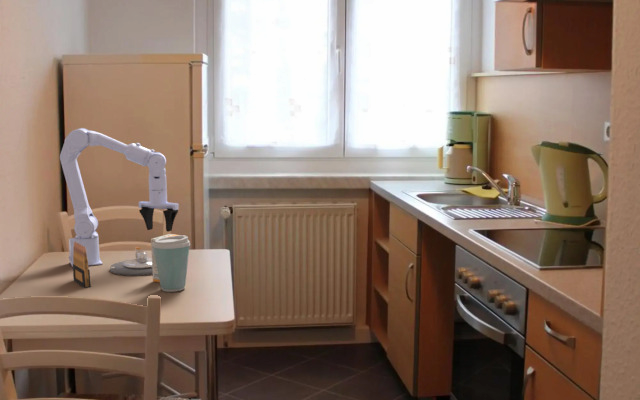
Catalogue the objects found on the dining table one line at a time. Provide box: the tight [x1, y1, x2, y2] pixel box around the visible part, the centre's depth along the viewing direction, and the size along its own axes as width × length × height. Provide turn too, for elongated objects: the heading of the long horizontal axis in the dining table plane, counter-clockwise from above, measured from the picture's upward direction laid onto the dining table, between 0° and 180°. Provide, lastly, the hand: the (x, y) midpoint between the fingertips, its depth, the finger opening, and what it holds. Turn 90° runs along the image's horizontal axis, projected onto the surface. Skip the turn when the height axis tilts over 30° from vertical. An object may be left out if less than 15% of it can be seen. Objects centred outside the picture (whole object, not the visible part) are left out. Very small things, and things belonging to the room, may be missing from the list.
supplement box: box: [150, 233, 179, 283], centre depth 229 cm, size 8×5×13 cm, turn 149°
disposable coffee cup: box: [152, 234, 191, 293], centre depth 217 cm, size 11×11×15 cm
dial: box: [123, 246, 152, 269], centre depth 245 cm, size 14×12×4 cm
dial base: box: [109, 257, 153, 277], centre depth 245 cm, size 20×20×1 cm
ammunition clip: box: [72, 242, 92, 289], centre depth 225 cm, size 11×2×12 cm, turn 34°
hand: (159, 230), depth 254 cm, fingers open, 7 cm apart
